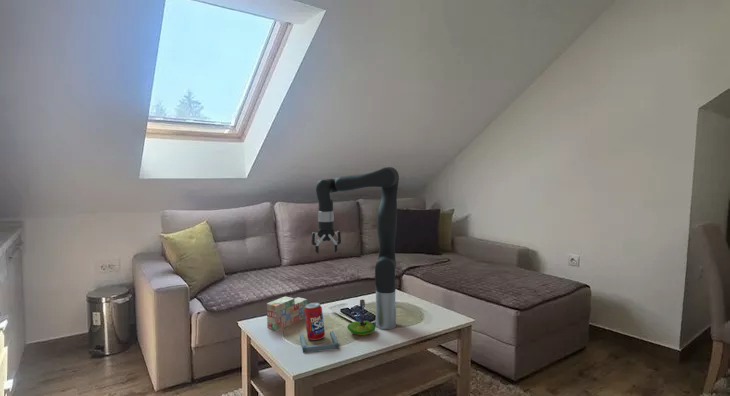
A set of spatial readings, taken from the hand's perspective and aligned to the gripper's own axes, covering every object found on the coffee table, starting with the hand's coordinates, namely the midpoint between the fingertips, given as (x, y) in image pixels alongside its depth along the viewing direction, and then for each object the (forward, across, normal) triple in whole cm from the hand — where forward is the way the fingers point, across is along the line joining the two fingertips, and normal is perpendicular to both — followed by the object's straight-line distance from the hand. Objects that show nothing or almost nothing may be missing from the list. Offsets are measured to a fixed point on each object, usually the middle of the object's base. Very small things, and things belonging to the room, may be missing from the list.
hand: (326, 252), depth 215 cm
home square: (+33, -8, -28) cm, 44 cm away
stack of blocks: (+34, -19, -1) cm, 39 cm away
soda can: (+33, -8, -23) cm, 41 cm away
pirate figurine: (+33, +12, -22) cm, 42 cm away
